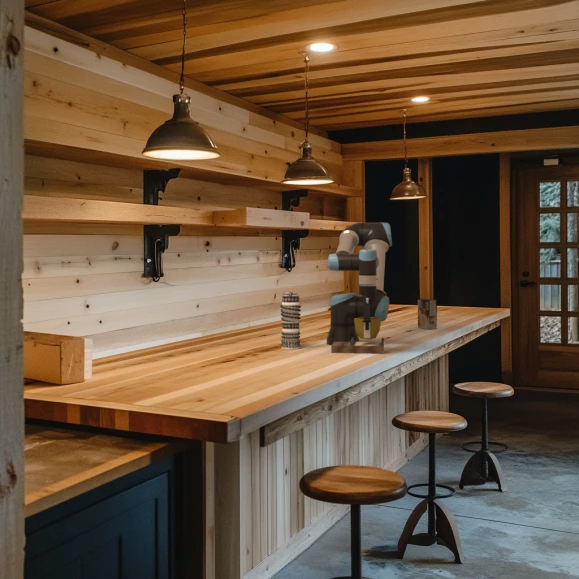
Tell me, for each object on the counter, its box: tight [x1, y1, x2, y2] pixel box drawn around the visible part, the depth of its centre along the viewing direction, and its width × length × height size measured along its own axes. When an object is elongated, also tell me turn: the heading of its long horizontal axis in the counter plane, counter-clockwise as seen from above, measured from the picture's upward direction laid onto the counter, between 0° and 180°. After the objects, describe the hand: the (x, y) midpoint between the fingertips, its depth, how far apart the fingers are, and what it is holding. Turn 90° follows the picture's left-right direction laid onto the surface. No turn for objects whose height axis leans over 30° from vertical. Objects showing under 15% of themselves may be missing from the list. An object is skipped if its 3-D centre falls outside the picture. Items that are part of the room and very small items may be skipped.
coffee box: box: [417, 298, 438, 330], centre depth 407 cm, size 9×6×16 cm
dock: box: [330, 337, 385, 355], centre depth 319 cm, size 22×14×5 cm, turn 82°
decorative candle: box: [280, 291, 302, 350], centre depth 327 cm, size 9×9×25 cm
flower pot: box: [354, 317, 382, 341], centre depth 318 cm, size 9×9×9 cm
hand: (367, 336), depth 318 cm, fingers closed on flower pot, 11 cm apart
